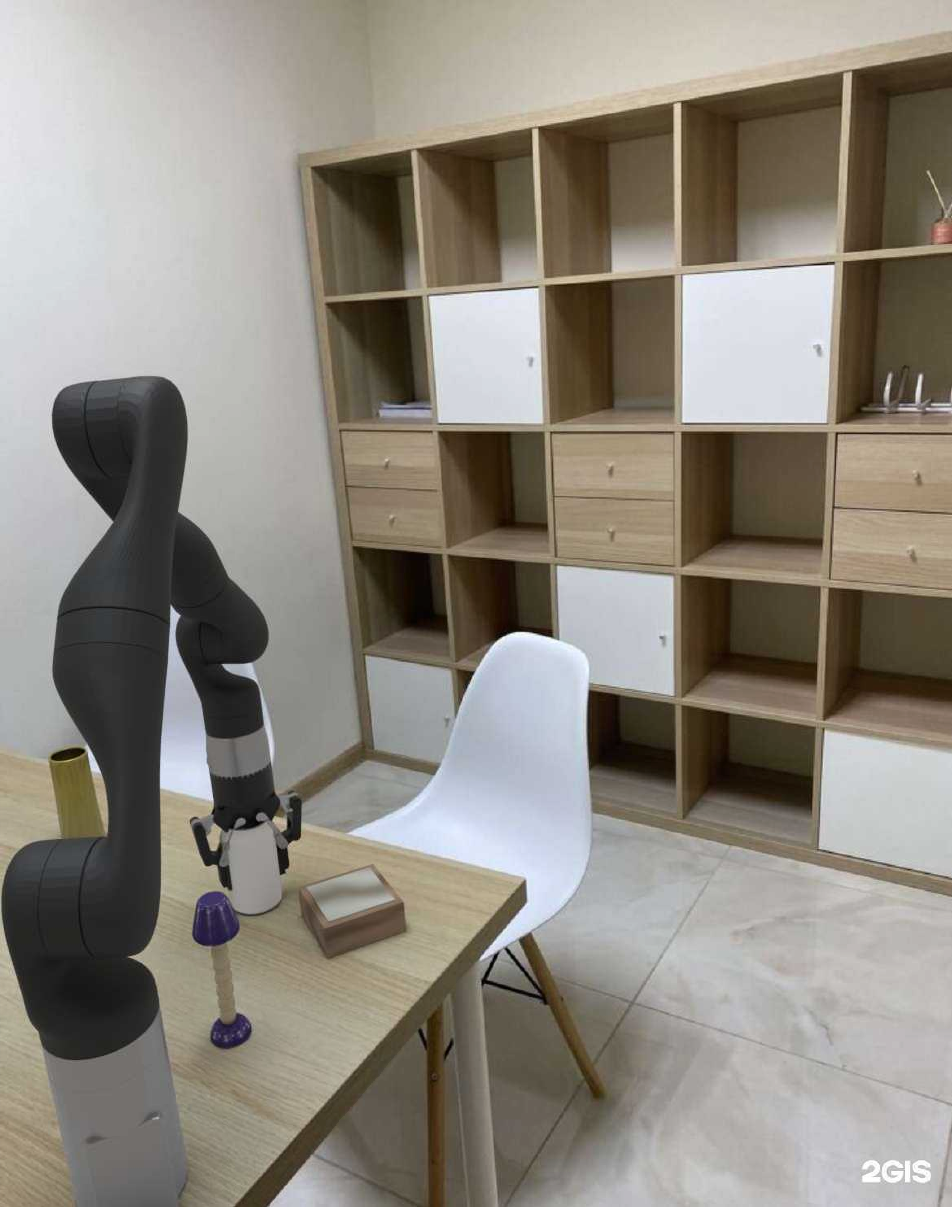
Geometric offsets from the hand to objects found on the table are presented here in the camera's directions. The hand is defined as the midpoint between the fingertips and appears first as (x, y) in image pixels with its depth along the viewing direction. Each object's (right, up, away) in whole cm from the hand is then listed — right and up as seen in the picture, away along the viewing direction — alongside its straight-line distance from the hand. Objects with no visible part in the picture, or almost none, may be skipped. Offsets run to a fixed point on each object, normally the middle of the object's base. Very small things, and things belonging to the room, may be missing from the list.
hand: (255, 879), depth 124 cm
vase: (-29, 0, +18) cm, 34 cm away
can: (0, -3, +1) cm, 3 cm away
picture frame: (+13, -4, -5) cm, 14 cm away
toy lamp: (+3, -10, -23) cm, 25 cm away
